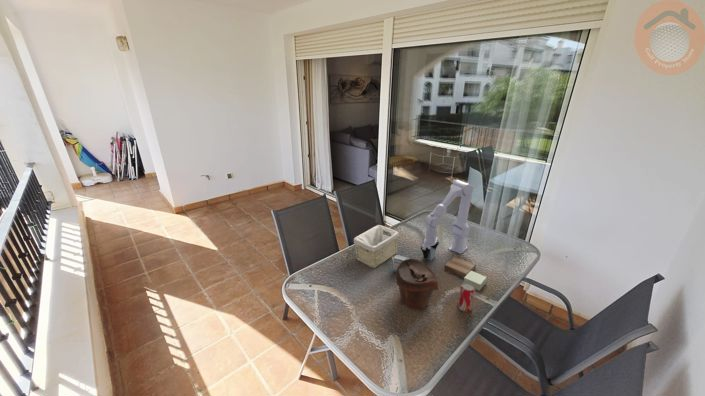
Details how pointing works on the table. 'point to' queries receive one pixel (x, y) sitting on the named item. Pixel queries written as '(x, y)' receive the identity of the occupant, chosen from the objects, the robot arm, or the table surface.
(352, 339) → the table surface
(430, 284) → the brown lidded pot
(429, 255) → the slate block
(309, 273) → the table surface
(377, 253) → the storage basket
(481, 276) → the sage block
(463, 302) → the beverage can
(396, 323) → the table surface
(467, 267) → the walnut block
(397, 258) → the medicine box
